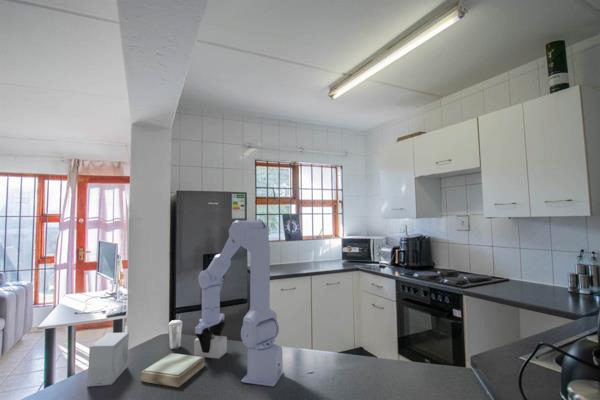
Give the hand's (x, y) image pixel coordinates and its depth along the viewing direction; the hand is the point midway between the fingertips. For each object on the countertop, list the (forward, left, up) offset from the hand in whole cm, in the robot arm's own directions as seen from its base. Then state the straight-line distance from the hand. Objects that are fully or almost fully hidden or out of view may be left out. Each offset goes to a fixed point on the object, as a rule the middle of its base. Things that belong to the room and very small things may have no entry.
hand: (210, 348), depth 100 cm
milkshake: (+15, -2, -2) cm, 15 cm away
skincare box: (+20, +20, -2) cm, 28 cm away
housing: (0, 0, -2) cm, 2 cm away
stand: (+3, +14, -2) cm, 14 cm away
